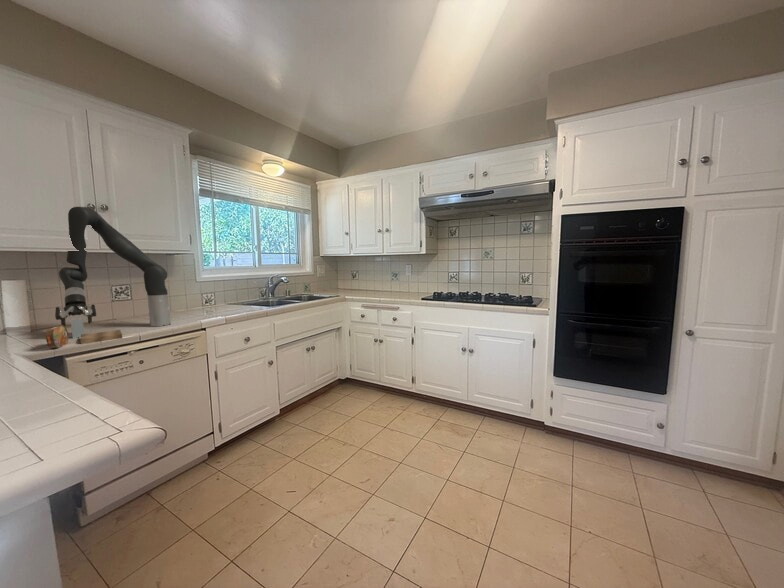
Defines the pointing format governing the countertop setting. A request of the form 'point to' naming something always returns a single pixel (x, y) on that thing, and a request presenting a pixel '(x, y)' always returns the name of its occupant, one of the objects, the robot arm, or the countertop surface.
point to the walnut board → (100, 336)
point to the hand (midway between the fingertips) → (77, 323)
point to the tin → (57, 337)
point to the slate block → (77, 327)
